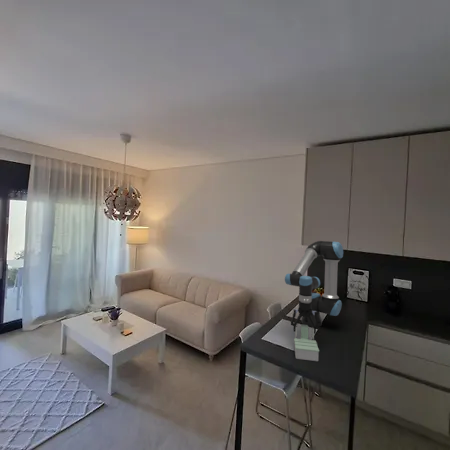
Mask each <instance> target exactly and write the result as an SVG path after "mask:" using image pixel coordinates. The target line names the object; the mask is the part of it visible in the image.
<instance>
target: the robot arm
mask: <svg viewBox="0 0 450 450" xmlns="http://www.w3.org/2000/svg"><path fill="white" fill-rule="evenodd" d="M317 257H322V258H323V261H324V263H325V264H324V287H323V288H324V290H323V291H324V293H322V295H321V294H320V293H318V292H313V290H317V289H318V288H319V287H320V286H321V280H320V278H319V277H317V276H309V275H305V274H306V273H307V271H308V270H309V267H310V266H311V265H312V263H313V261H314V260H315V259H317ZM343 257H344V247H343V245H342V243H341V242H339V241H329V240H328V241H326V240H317V241H315V242H312V243H311V244H310V245H308V246H307V247H306V249H305V250H304V253H303V256H302V257H301V259H300V260H299V262H298V263H297V265H296V266H295V267H294V269H293V271H292V272H291V273H286V274H285V276H284V282H285V284H286V285H289V286H293V287H298V289H299V290H298V309H297V308H293V314H292V316H291V321H290V325H291V326H292V327H293V330H292V331H293V332H294V335H295V337H294V338H296V339H298V338H297V337H298V336H297V335H298V326H297V325H298V324H299V322H300V321H301V323H302V325H308V327H311V340H315V335H316V333H317V332H316V331H317V329H319V328H320V327H322V326H323V321H322V318H321V314H320V313H322V314H325V315H329V316H335V317H336V316H339V314H340V312H341V310H342V305H343V303H342V300H340V297H339V296H338V271H339V270H338V266H339V265H338V263H340V261H341V259H342V258H343ZM298 313H299V314H298ZM296 314H298V316H296ZM296 317H297V318H296ZM295 319H296V320H295Z"/></svg>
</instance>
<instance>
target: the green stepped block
mask: <svg viewBox="0 0 450 450" xmlns="http://www.w3.org/2000/svg"><path fill="white" fill-rule="evenodd" d="M293 341H294V347H295V349H296V350H304V351H313V352H318V353H320V349H319V347H318V342H317V341H316V340H315V339H314V340H313V339H309V326H308V325H304V324H303V323H302V324H300V338H295V337H294V338H293ZM295 349H294V350H295Z"/></svg>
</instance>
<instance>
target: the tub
mask: <svg viewBox="0 0 450 450" xmlns="http://www.w3.org/2000/svg"><path fill="white" fill-rule="evenodd" d="M294 355H295V359H297V360H305V361H313V362H319V352H313V351H304V350H296V349H295V346H294Z"/></svg>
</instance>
